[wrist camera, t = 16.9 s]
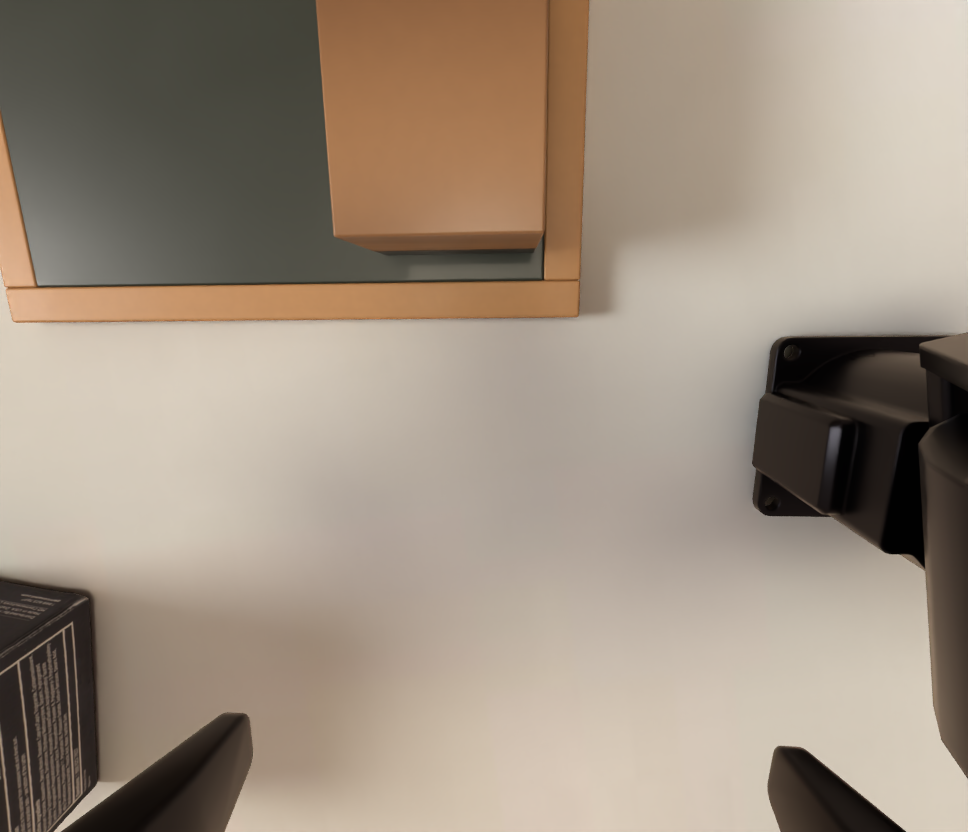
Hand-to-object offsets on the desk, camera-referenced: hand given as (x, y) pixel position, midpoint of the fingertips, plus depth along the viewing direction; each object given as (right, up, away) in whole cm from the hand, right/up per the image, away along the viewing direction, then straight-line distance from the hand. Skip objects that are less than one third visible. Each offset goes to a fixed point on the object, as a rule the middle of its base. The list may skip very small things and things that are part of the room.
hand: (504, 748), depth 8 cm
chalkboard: (-7, +17, +8) cm, 20 cm away
